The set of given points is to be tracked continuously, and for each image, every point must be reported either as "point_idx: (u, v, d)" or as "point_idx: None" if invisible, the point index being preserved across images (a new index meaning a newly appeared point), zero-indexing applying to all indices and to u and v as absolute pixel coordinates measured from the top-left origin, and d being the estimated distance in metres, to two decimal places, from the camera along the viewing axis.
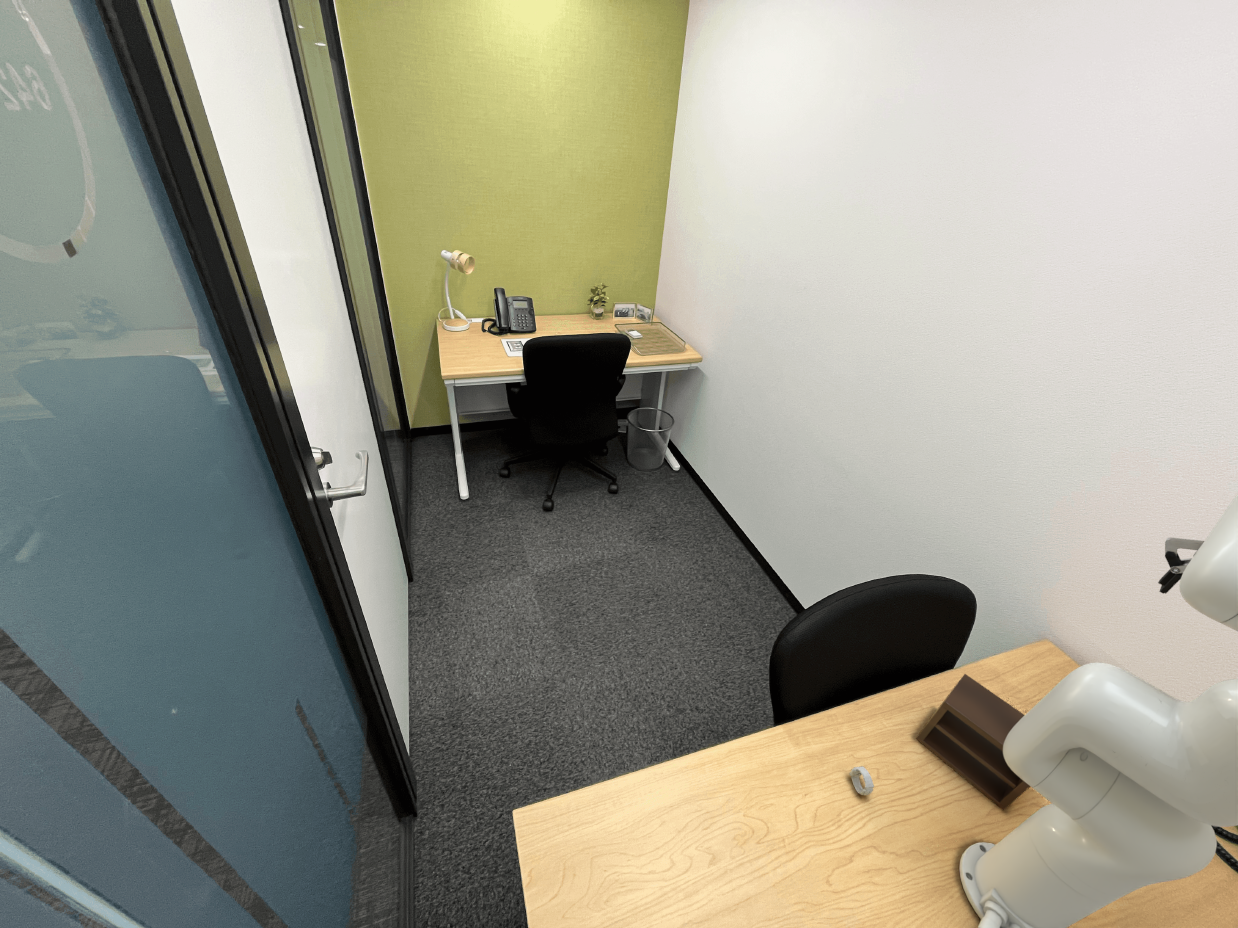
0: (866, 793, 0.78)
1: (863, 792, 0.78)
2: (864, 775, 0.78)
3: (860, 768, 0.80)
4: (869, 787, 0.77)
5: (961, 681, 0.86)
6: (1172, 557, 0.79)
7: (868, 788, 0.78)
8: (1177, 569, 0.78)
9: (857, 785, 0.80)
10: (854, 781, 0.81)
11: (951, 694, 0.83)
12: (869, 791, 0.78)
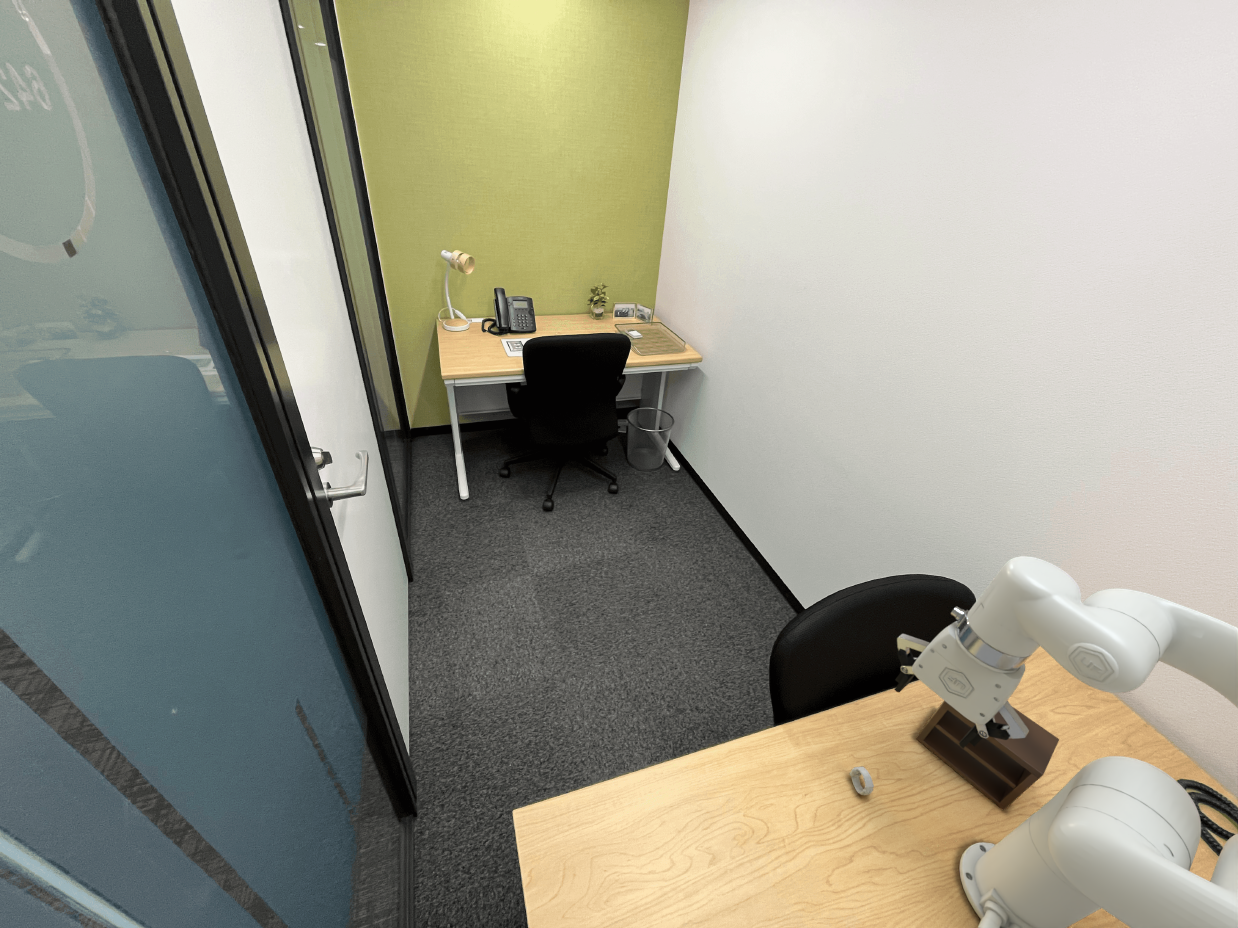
0: (866, 793, 0.78)
1: (863, 792, 0.78)
2: (864, 775, 0.78)
3: (860, 768, 0.80)
4: (869, 787, 0.77)
5: None
6: (902, 655, 0.73)
7: (868, 788, 0.78)
8: (905, 669, 0.73)
9: (857, 785, 0.80)
10: (854, 781, 0.81)
11: None
12: (869, 791, 0.78)
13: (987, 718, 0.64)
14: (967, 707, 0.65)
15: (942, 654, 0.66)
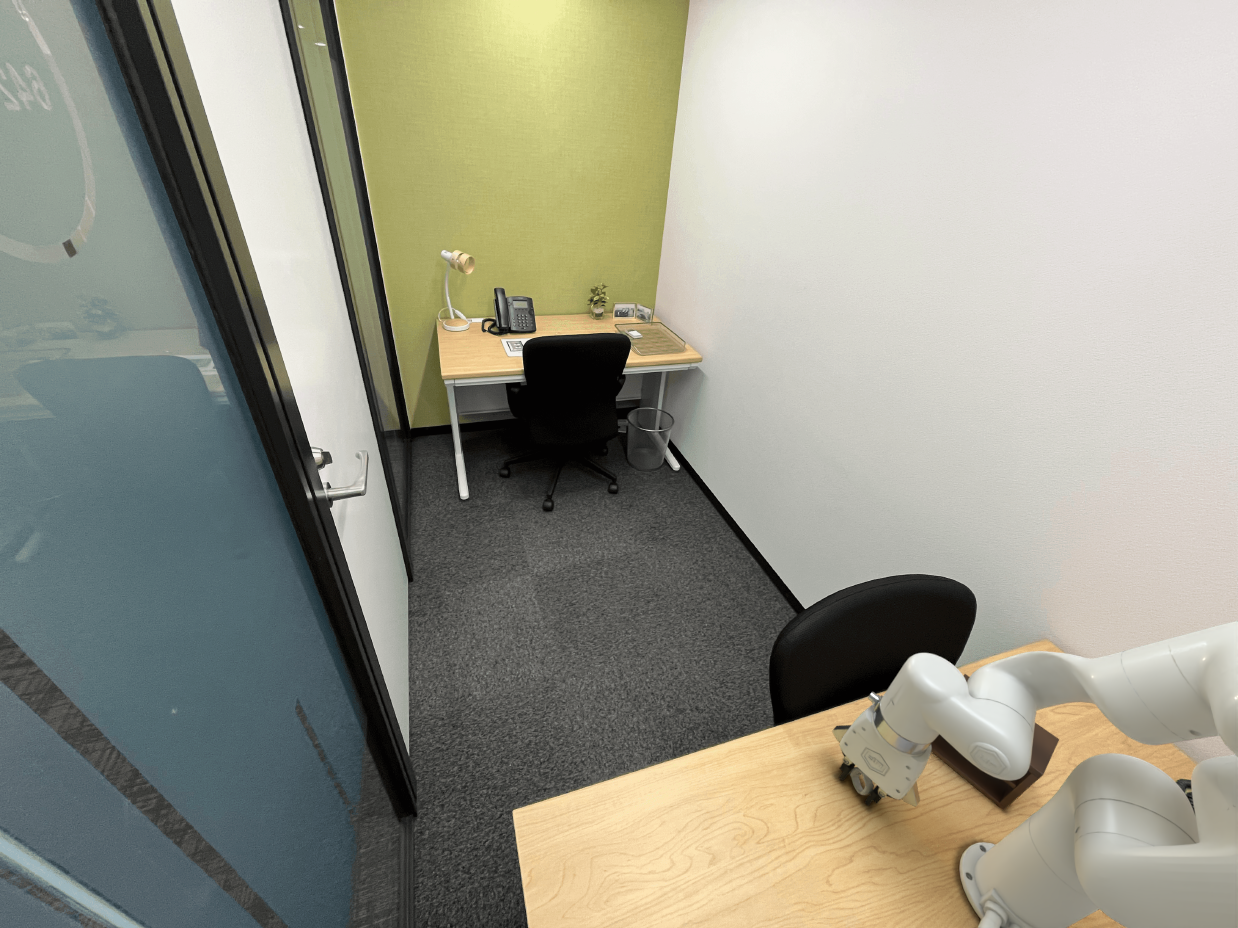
0: (866, 793, 0.78)
1: (863, 792, 0.78)
2: (864, 775, 0.78)
3: None
4: (869, 787, 0.77)
5: None
6: None
7: (868, 788, 0.78)
8: (847, 760, 0.79)
9: (857, 785, 0.80)
10: (853, 781, 0.81)
11: None
12: (869, 791, 0.78)
13: (902, 794, 0.71)
14: (885, 783, 0.72)
15: (862, 735, 0.73)
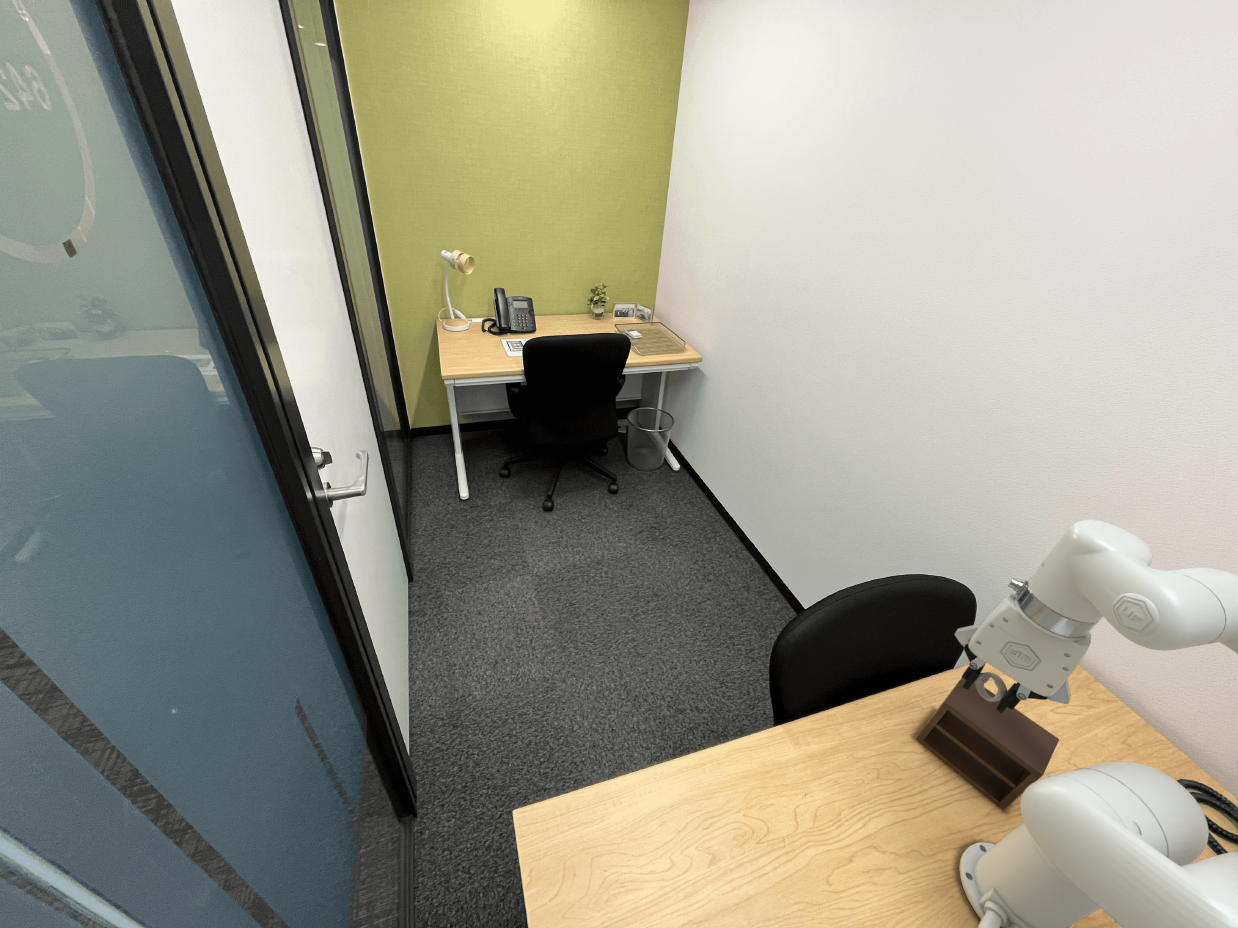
0: (999, 699, 0.69)
1: (995, 698, 0.69)
2: (995, 679, 0.70)
3: (988, 673, 0.71)
4: (1003, 691, 0.69)
5: (961, 681, 0.86)
6: (970, 651, 0.71)
7: (1002, 693, 0.69)
8: (974, 664, 0.70)
9: (983, 693, 0.72)
10: (979, 690, 0.72)
11: (951, 694, 0.83)
12: (1002, 696, 0.69)
13: (1055, 689, 0.62)
14: (1033, 680, 0.64)
15: (1003, 628, 0.65)
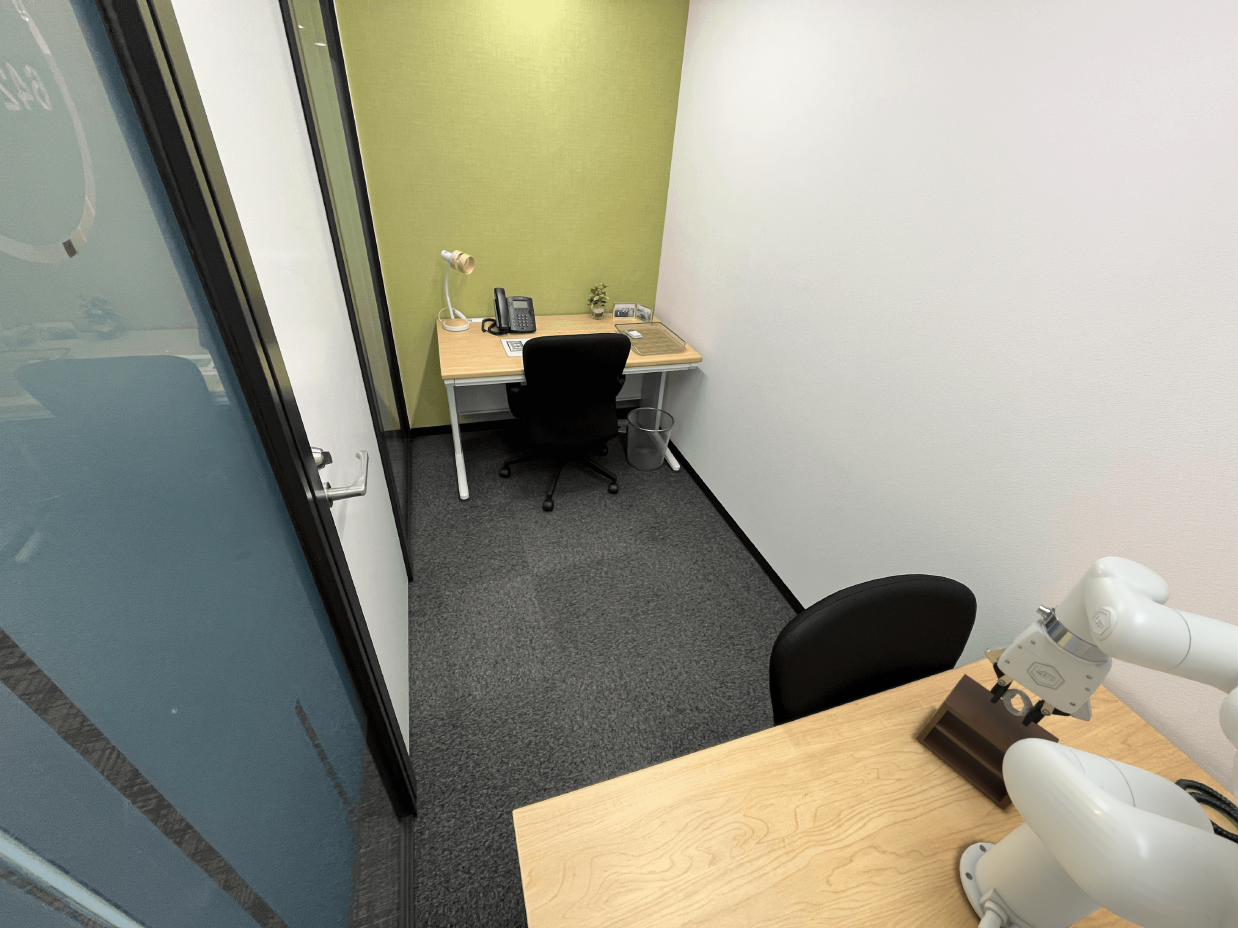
0: (1025, 713, 0.76)
1: (1021, 712, 0.76)
2: (1022, 696, 0.76)
3: (1015, 690, 0.78)
4: (1028, 707, 0.76)
5: (961, 681, 0.86)
6: (999, 669, 0.77)
7: (1027, 708, 0.76)
8: (1002, 681, 0.77)
9: (1010, 707, 0.79)
10: (1006, 704, 0.79)
11: (951, 694, 0.83)
12: (1028, 711, 0.76)
13: (1077, 707, 0.69)
14: (1057, 698, 0.70)
15: (1030, 650, 0.71)
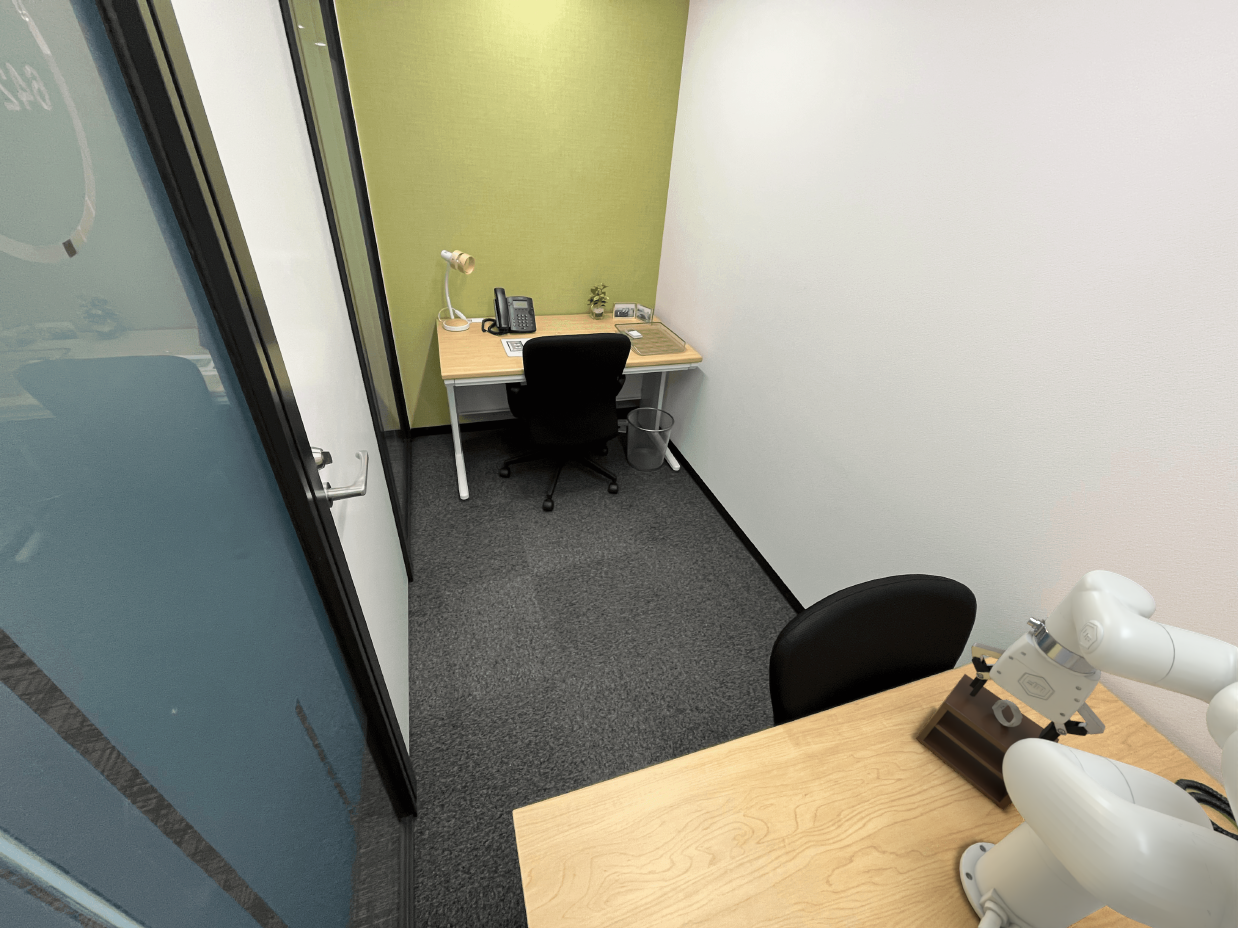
0: (1014, 724, 0.77)
1: (1011, 723, 0.78)
2: (1012, 707, 0.78)
3: (1005, 701, 0.79)
4: (1018, 718, 0.77)
5: (961, 681, 0.86)
6: (977, 662, 0.80)
7: (1017, 719, 0.77)
8: (981, 675, 0.79)
9: (1001, 718, 0.80)
10: (997, 715, 0.80)
11: (951, 694, 0.83)
12: (1018, 722, 0.77)
13: (1067, 717, 0.70)
14: (1047, 708, 0.72)
15: (1021, 661, 0.73)
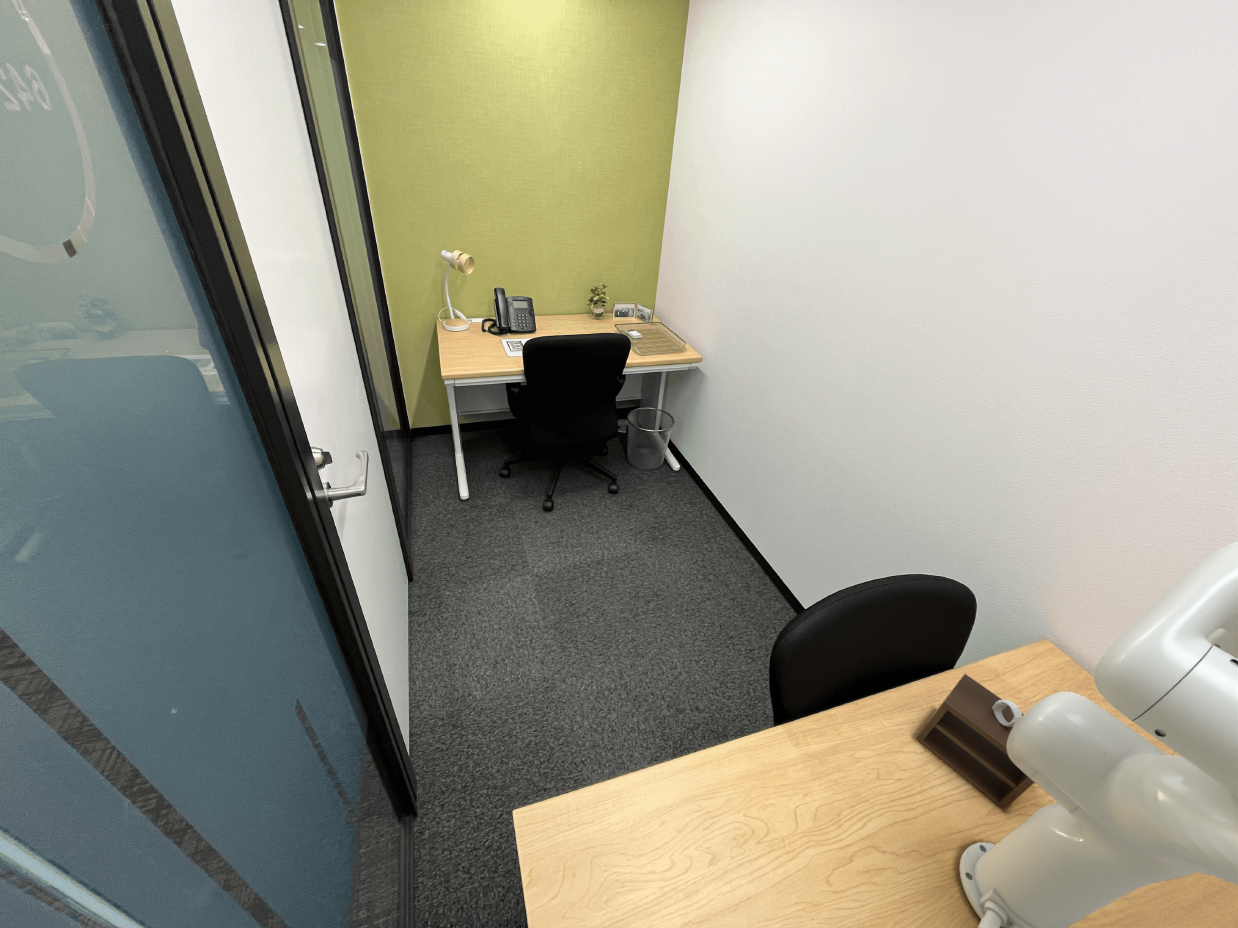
0: (1014, 724, 0.77)
1: (1011, 723, 0.78)
2: (1012, 707, 0.78)
3: (1005, 701, 0.79)
4: (1018, 718, 0.77)
5: (961, 681, 0.86)
6: None
7: (1017, 719, 0.77)
8: None
9: (1001, 718, 0.80)
10: (997, 715, 0.80)
11: (951, 694, 0.83)
12: None
13: None
14: None
15: None
